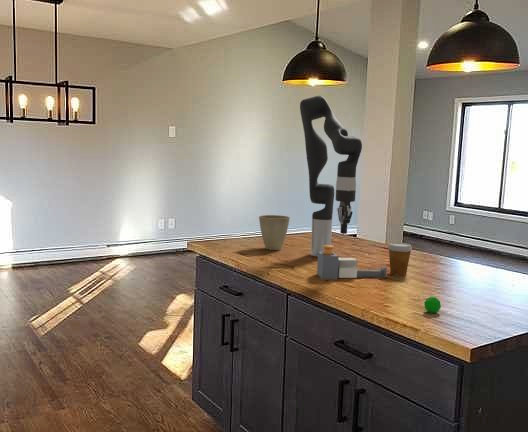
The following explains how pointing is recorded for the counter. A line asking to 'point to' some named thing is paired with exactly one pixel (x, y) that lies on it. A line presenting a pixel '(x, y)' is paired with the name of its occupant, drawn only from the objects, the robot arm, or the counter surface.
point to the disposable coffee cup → (399, 258)
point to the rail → (372, 273)
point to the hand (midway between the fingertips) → (343, 233)
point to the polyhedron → (432, 305)
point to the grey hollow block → (327, 266)
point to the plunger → (328, 249)
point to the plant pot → (273, 230)
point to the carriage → (347, 268)
